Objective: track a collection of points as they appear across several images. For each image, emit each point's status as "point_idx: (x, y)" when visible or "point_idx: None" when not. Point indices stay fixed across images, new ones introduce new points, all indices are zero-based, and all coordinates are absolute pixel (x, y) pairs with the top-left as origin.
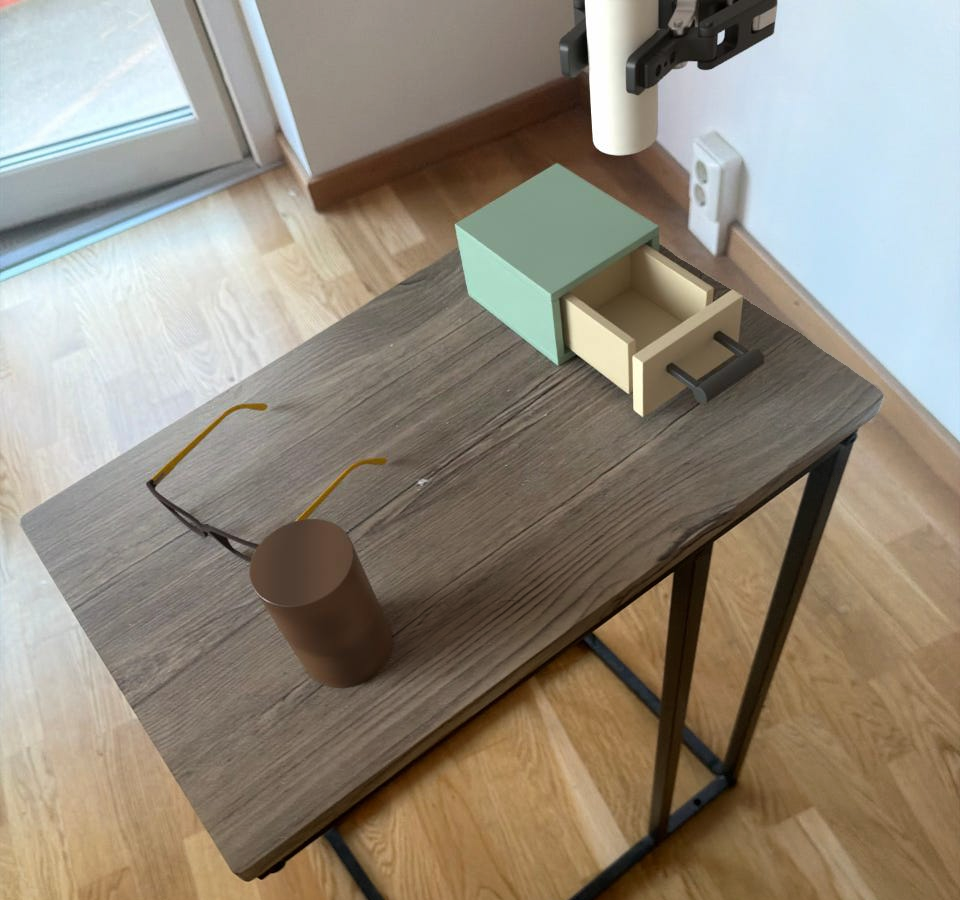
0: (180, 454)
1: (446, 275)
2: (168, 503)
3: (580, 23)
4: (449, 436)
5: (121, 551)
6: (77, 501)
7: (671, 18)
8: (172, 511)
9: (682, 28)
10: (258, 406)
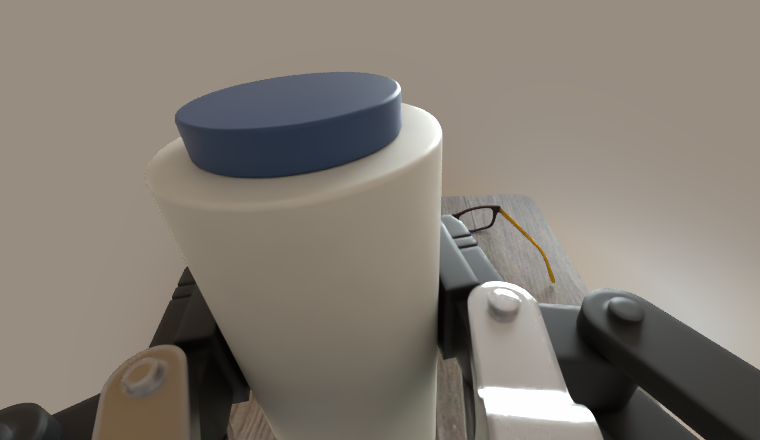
0: (512, 220)
1: None
2: (475, 207)
3: (489, 270)
4: (440, 356)
5: (483, 210)
6: (532, 206)
7: (186, 390)
8: (490, 224)
9: (121, 370)
10: (550, 273)
